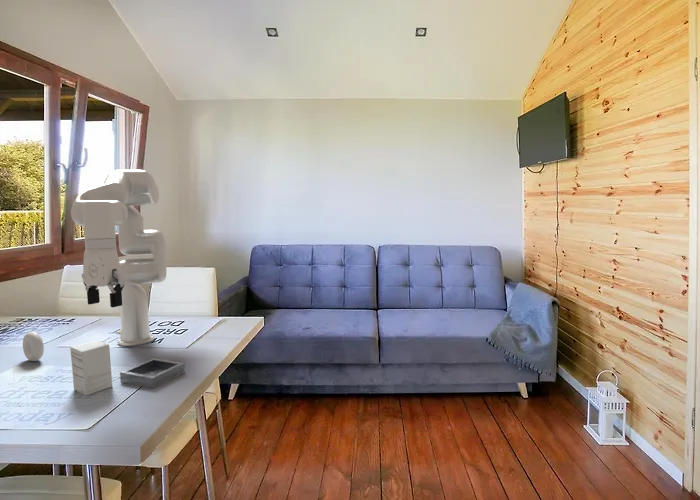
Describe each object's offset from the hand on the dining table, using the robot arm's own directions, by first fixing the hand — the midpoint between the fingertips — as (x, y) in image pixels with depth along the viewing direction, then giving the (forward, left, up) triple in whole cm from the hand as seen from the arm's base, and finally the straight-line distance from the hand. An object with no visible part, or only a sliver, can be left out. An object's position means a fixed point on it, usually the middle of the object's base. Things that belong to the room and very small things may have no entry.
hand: (105, 304), depth 121 cm
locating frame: (+8, +8, -24) cm, 26 cm away
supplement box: (-2, -4, -24) cm, 24 cm away
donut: (-42, +5, -24) cm, 48 cm away
